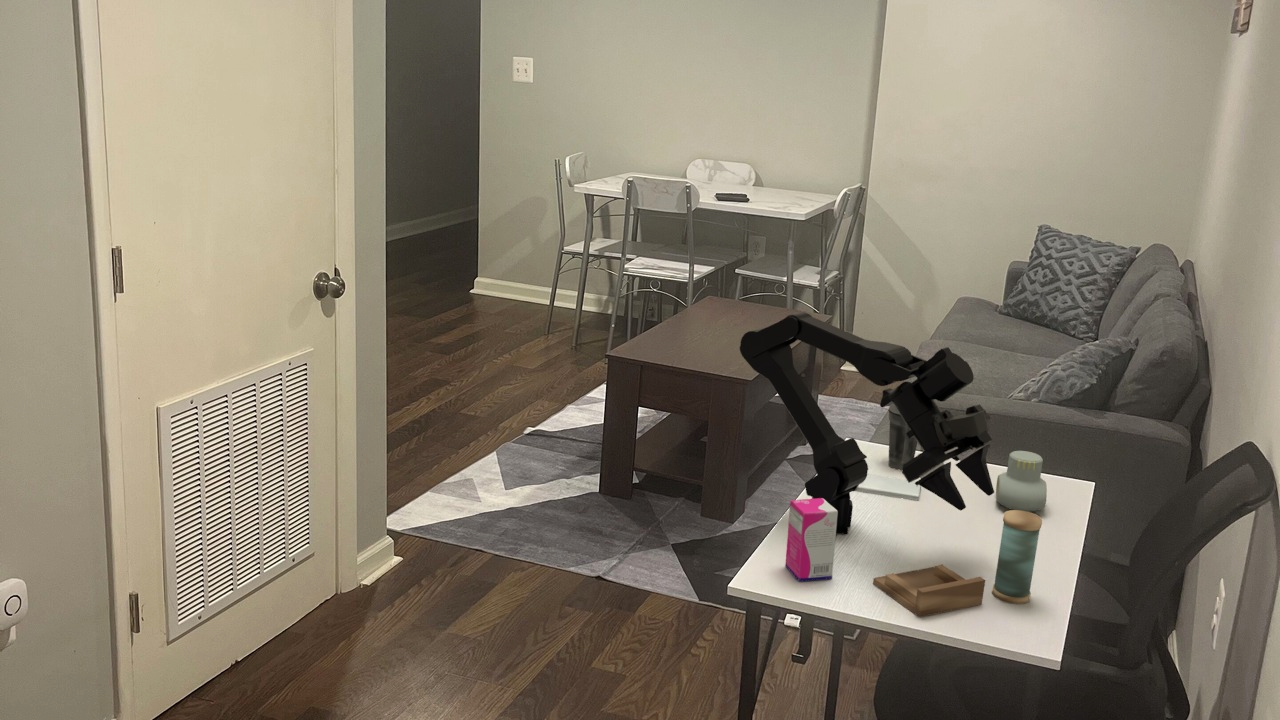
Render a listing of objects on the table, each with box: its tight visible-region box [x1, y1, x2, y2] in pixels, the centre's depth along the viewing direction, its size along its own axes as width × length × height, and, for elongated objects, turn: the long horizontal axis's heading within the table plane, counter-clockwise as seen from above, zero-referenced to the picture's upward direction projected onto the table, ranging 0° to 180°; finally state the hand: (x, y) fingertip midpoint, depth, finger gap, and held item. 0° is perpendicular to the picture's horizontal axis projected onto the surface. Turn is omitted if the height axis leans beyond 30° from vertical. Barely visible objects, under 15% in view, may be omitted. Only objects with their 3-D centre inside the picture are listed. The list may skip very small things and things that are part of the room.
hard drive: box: [855, 473, 922, 502], centre depth 211 cm, size 2×8×12 cm
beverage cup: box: [887, 376, 918, 471], centre depth 221 cm, size 7×7×20 cm
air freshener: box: [995, 450, 1048, 513], centre depth 205 cm, size 11×8×10 cm
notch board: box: [872, 564, 986, 618], centre depth 169 cm, size 11×12×4 cm
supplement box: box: [785, 498, 838, 583], centre depth 173 cm, size 6×6×12 cm
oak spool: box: [991, 509, 1043, 605], centre depth 169 cm, size 6×6×13 cm
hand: (977, 501), depth 172 cm, fingers open, 9 cm apart
